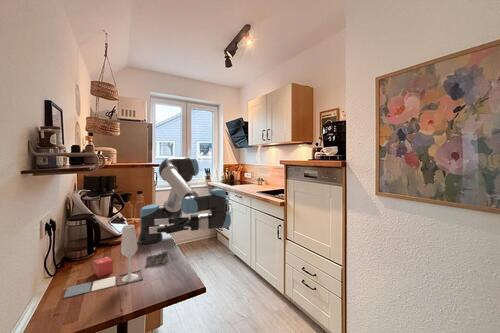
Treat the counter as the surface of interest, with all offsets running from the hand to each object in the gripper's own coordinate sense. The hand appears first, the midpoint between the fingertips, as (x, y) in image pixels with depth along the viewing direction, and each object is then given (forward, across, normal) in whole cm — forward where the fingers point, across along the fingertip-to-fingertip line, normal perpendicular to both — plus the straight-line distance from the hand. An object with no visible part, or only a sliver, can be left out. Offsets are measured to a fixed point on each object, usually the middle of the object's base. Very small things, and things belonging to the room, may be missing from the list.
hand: (151, 226), depth 104 cm
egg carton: (0, +15, -24) cm, 28 cm away
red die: (+24, +10, -23) cm, 35 cm away
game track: (+20, -2, -23) cm, 31 cm away
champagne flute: (+10, +1, -24) cm, 26 cm away
